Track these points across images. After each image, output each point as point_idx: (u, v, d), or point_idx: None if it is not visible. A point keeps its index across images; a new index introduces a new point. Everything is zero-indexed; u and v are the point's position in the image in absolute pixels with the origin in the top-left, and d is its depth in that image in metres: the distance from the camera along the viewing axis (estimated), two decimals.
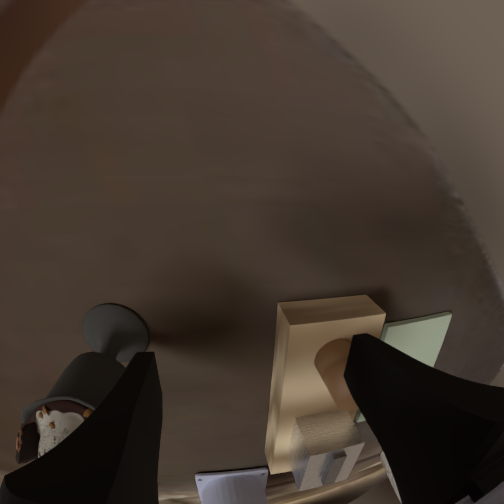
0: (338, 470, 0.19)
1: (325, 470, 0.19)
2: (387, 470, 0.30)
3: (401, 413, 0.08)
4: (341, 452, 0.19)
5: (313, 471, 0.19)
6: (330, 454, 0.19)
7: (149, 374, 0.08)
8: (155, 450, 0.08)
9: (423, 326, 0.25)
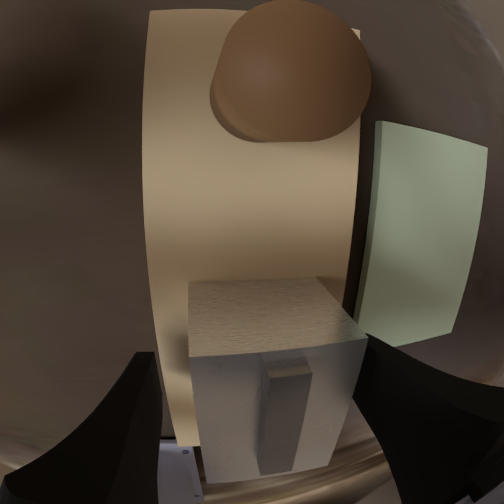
0: (295, 431, 0.07)
1: (259, 429, 0.08)
2: None
3: (401, 413, 0.08)
4: (295, 362, 0.07)
5: (223, 427, 0.08)
6: (258, 364, 0.07)
7: (149, 374, 0.08)
8: (155, 450, 0.08)
9: (447, 149, 0.13)
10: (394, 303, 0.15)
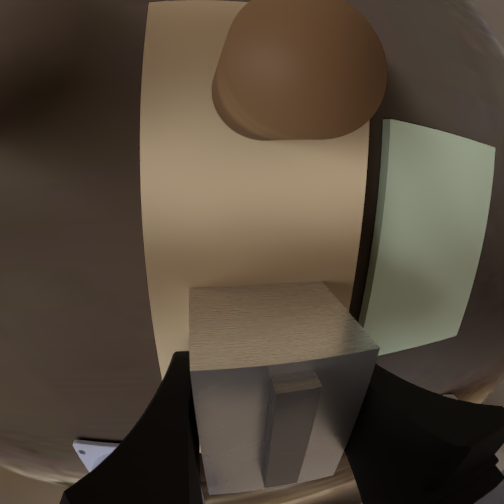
0: (301, 444, 0.07)
1: (264, 443, 0.07)
2: None
3: (364, 424, 0.08)
4: (303, 375, 0.06)
5: (226, 441, 0.07)
6: (264, 378, 0.06)
7: None
8: (198, 449, 0.08)
9: (455, 148, 0.12)
10: (400, 307, 0.15)
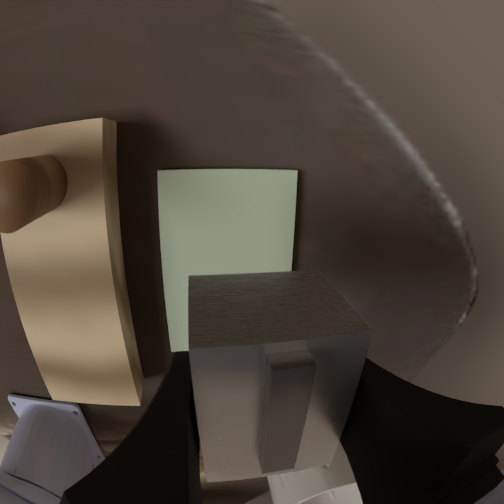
0: (298, 426, 0.07)
1: (261, 425, 0.08)
2: None
3: (364, 424, 0.08)
4: (298, 354, 0.07)
5: (224, 423, 0.07)
6: (260, 356, 0.07)
7: None
8: (198, 449, 0.08)
9: (234, 181, 0.18)
10: None
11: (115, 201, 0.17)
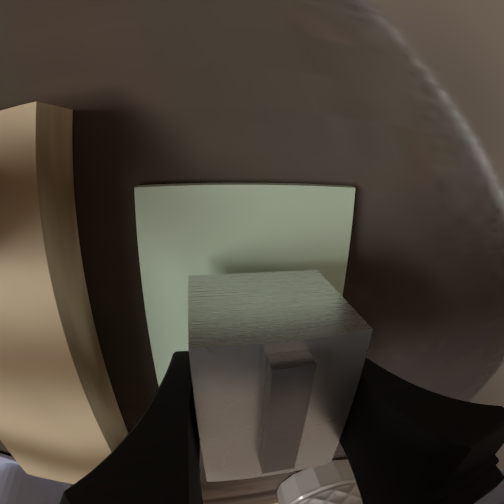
0: (298, 426, 0.07)
1: (261, 425, 0.08)
2: None
3: (364, 425, 0.08)
4: (298, 354, 0.07)
5: (224, 423, 0.07)
6: (260, 356, 0.07)
7: None
8: (198, 449, 0.08)
9: (259, 204, 0.11)
10: None
11: (71, 237, 0.10)
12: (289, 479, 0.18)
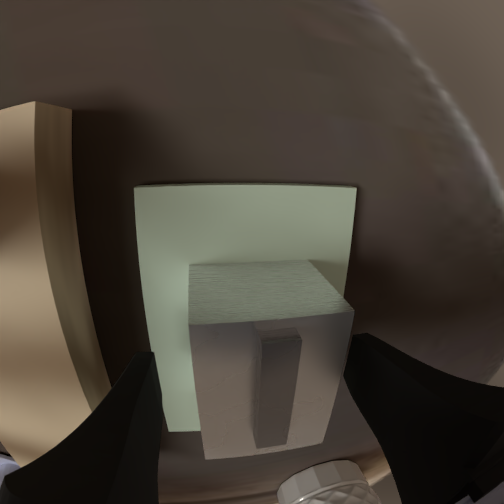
0: (288, 400, 0.08)
1: (254, 400, 0.09)
2: None
3: (401, 413, 0.08)
4: (286, 331, 0.08)
5: (220, 397, 0.08)
6: (252, 333, 0.08)
7: (149, 374, 0.08)
8: (155, 450, 0.08)
9: (259, 204, 0.11)
10: None
11: (70, 237, 0.10)
12: (289, 480, 0.18)
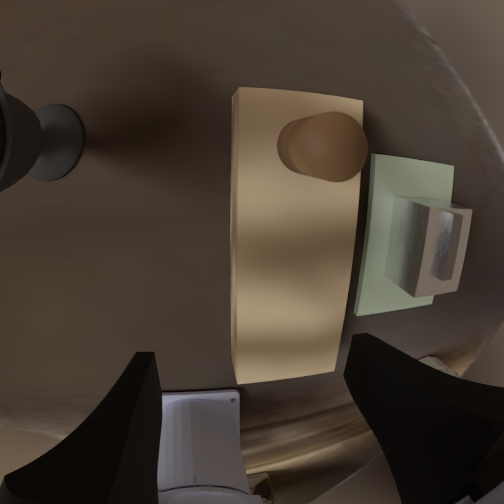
0: (456, 247, 0.17)
1: (442, 250, 0.18)
2: None
3: (401, 413, 0.08)
4: (455, 213, 0.17)
5: (431, 248, 0.18)
6: (446, 213, 0.17)
7: (149, 374, 0.08)
8: (155, 450, 0.08)
9: (421, 169, 0.20)
10: None
11: None
12: None
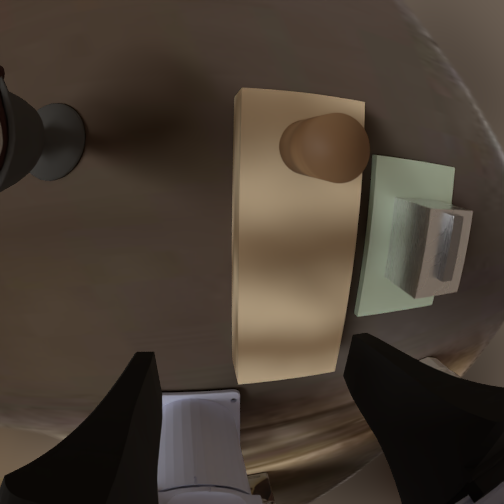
0: (456, 248, 0.17)
1: (443, 251, 0.18)
2: None
3: (401, 413, 0.08)
4: (456, 215, 0.17)
5: (432, 249, 0.18)
6: (446, 214, 0.17)
7: (149, 374, 0.08)
8: (155, 450, 0.08)
9: (422, 171, 0.20)
10: (386, 278, 0.22)
11: None
12: None
